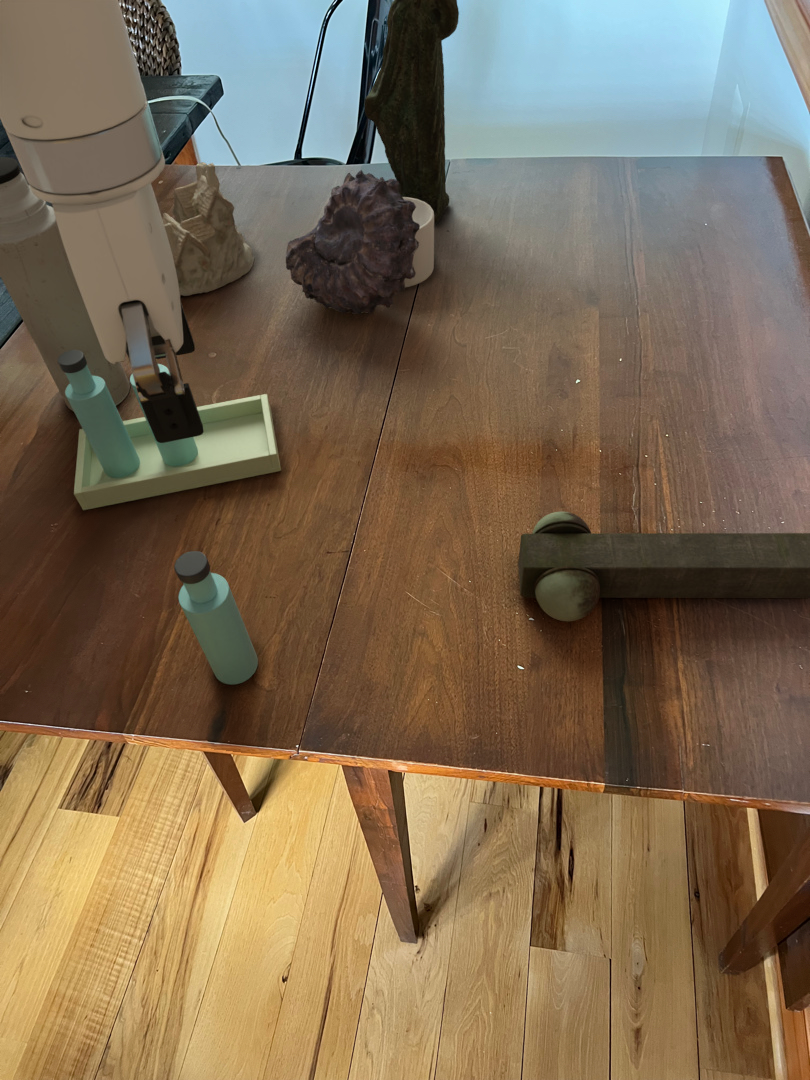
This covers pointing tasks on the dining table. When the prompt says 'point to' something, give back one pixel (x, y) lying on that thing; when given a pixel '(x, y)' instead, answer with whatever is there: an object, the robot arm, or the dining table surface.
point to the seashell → (357, 247)
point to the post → (655, 565)
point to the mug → (422, 242)
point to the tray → (223, 455)
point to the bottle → (215, 619)
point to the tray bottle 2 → (173, 450)
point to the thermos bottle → (47, 284)
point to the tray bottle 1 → (98, 416)
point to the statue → (414, 98)
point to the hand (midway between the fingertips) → (177, 392)
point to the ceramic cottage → (205, 236)
